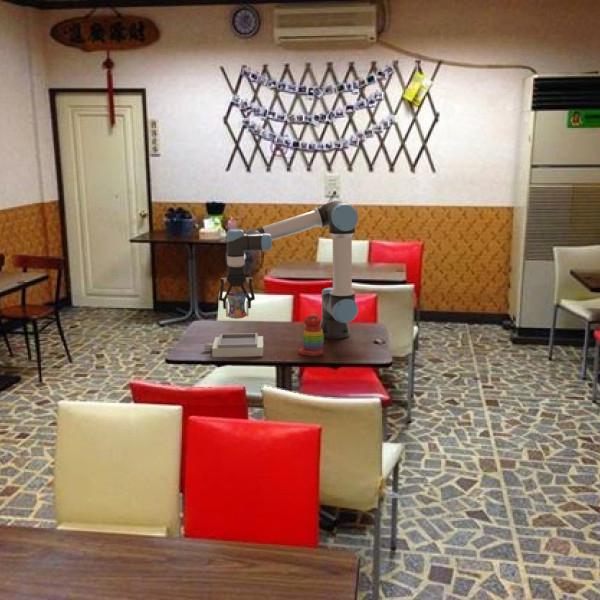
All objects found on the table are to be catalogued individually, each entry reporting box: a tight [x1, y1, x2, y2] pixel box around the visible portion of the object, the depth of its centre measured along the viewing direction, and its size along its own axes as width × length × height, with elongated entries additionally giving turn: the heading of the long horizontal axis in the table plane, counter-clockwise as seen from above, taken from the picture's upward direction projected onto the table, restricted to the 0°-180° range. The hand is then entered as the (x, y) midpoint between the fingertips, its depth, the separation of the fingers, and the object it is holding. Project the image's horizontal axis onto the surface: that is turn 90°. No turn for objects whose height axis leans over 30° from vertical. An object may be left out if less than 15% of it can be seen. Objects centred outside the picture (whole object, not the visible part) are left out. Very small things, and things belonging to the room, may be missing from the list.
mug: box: [225, 291, 248, 320], centre depth 295 cm, size 12×9×11 cm
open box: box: [204, 332, 264, 358], centre depth 299 cm, size 26×17×6 cm, turn 93°
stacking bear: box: [297, 312, 325, 356], centre depth 294 cm, size 11×10×18 cm
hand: (237, 315), depth 296 cm, fingers closed on mug, 8 cm apart
